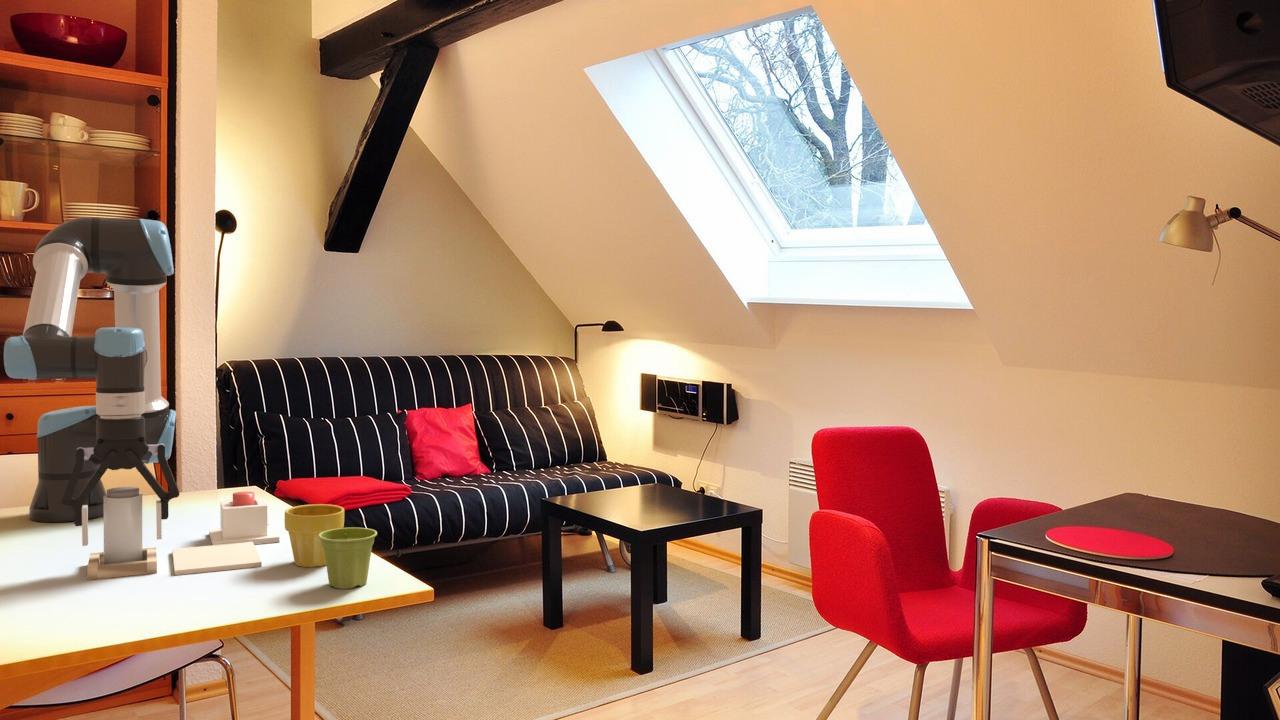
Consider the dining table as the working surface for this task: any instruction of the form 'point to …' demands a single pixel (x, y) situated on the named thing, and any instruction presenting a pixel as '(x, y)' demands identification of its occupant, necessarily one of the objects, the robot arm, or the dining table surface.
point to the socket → (121, 566)
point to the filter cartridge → (122, 525)
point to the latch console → (244, 524)
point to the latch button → (243, 499)
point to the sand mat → (215, 558)
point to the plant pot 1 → (311, 531)
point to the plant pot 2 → (347, 555)
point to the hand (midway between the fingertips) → (122, 540)
